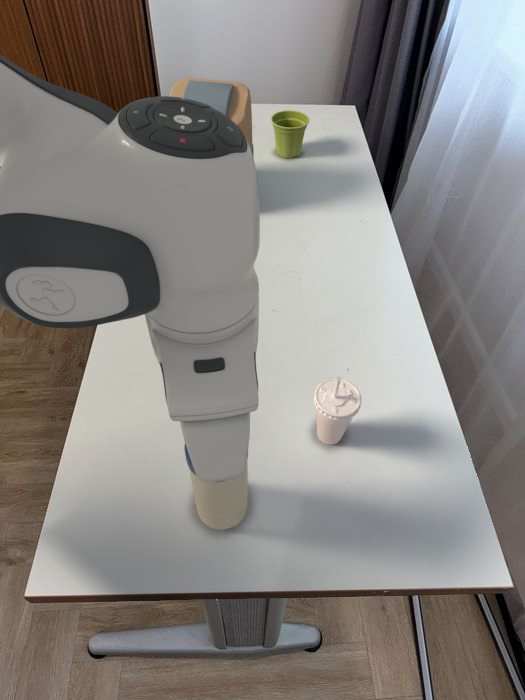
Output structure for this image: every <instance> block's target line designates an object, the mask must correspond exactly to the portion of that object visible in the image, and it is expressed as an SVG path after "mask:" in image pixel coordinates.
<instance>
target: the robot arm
mask: <svg viewBox="0 0 525 700" xmlns="http://www.w3.org/2000/svg"><path fill="white" fill-rule="evenodd" d="M254 158H255V157H254ZM254 158H253V154H252V151H251V149H250V146H249V143H248V142H247V140H246V137H245V136H244V134H243V132H242V131H241V130H240V128H239V127H238V126H237V125H236V124H235V123H234V122H233V121H232V120H231V119H230V118H228V117H227V116H226V115H224V114H223V113H221V112H219V111H218V110H216V109H214V108H212V107H210V106H209V105H207V104H204V103H201V102H198V101H195V100H191V99H186V98H181V97H172V96H170V95H162V96H161V95H159V96H154V97H153V96H152V97H144V98H140V99H137V100H134V101H132V102H130V103H128V104H126V105H125V106H124V107H122V108H121V109H120V110H119V112H117V111H116V110H114V109H113V108H112V107H110V106H108V105H107V104H106V103H103V102H101V101H99V100H97V99H95V98H93V97H91V96H87V95H85V94H83V93H79V92H76V91H73V90H71V89H68V88H64V87H62V86H59V85H56V84H53V83H51V82H49V81H46V80H44V79H42V78H40V77H38V76H36V75H34V74H32V73H31V72H29V71H27V70H25V69H23V68H22V67H21V66H19V65H18V64H15V63H14V62H13V61H12V60H10V59H8V58H7V57H6V56H4V55H3V54H1V53H0V306H1V307H2V308H3V309H5V310H6V311H7V312H9V313H10V314H12V315H14V316H16V317H17V318H20V319H22V320H24V321H26V322H29V323H31V324H34V325H37V326H41V327H46V328H52V329H79V328H88V327H89V328H90V327H93V326H99V325H100V326H101V325H105V324H110V323H115V322H120V321H125V320H130V319H133V318H138V317H140V316H143V315H144V318H145V322H146V326H147V331H148V334H149V339H150V343H151V346H152V348H153V352H154V355H155V358H156V360H157V363H158V364H159V365H158V366H159V367H160V370H161V374H162V380H163V381H162V382H163V388H164V395H165V396H164V397H165V402H166V405H167V411H168V416H169V418H170V420H171V421H172V422H179V425H180V429H181V433H182V437H183V441H184V445H185V444H186V447H187V450H188V453H189V456H190V459H191V462H192V465H193V467H194V470H195V473H196V475H197V477H198V479H199V480H201V481H203V482H218V481H225V480H231V479H235V478H238V477H240V476H242V475H243V473H244V472H245V469H246V462H247V463H248V459H247V455H248V456H249V447H250V446H249V445H250V444H249V443H250V433H251V413H252V412H256V411H257V410H258V408H259V403H260V402H259V401H260V397H259V381H258V380H259V379H258V371H257V350H258V343H259V329H260V328H259V327H260V326H259V319H260V318H259V317H260V315H259V314H260V283H259V278H258V274H257V272H256V269H255V264H256V260H257V258H258V255H259V251H260V243H261V217H260V216H261V215H260V211H261V210H260V196H259V195H260V194H259V183H258V173H257V168H256V162H255V159H254Z"/></svg>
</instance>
